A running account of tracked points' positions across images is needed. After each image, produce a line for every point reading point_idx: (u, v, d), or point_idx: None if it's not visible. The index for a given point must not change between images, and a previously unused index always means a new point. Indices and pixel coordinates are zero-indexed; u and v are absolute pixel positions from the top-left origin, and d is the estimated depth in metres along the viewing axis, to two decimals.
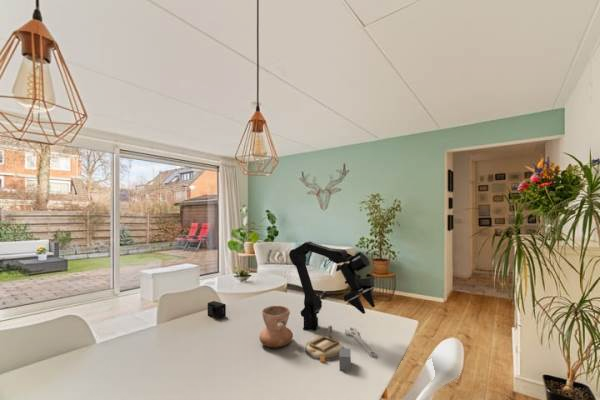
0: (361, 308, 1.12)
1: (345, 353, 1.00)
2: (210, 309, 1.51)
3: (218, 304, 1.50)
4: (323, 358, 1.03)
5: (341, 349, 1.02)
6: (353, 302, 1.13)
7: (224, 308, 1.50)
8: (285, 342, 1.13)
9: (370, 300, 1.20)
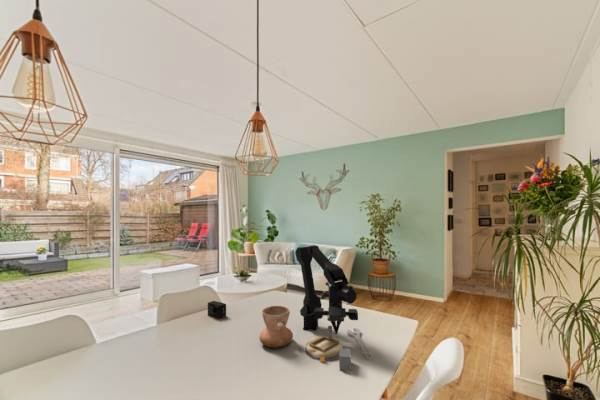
0: (334, 328, 1.18)
1: (345, 353, 1.00)
2: (210, 309, 1.52)
3: (218, 304, 1.51)
4: (323, 358, 1.03)
5: (341, 349, 1.02)
6: None
7: (224, 308, 1.50)
8: (285, 342, 1.13)
9: None
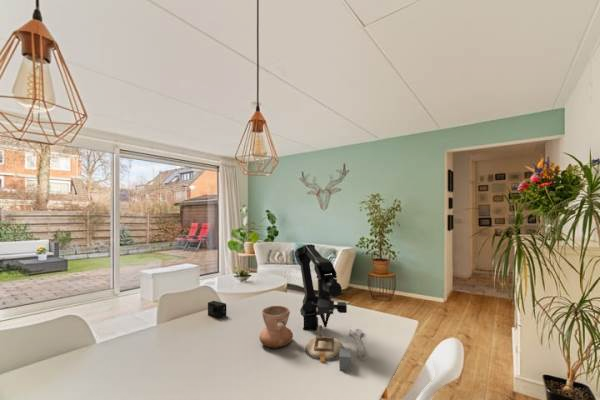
0: (322, 321, 1.18)
1: (345, 353, 1.00)
2: (210, 309, 1.52)
3: (219, 304, 1.51)
4: (323, 358, 1.03)
5: (341, 349, 1.02)
6: None
7: (225, 307, 1.51)
8: (285, 342, 1.13)
9: None
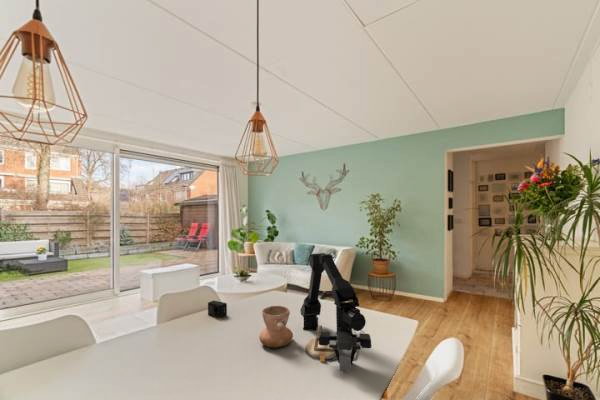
0: (336, 356, 1.01)
1: (345, 352, 1.00)
2: (211, 308, 1.52)
3: (219, 303, 1.51)
4: (323, 358, 1.03)
5: None
6: None
7: (225, 307, 1.51)
8: (285, 342, 1.13)
9: (351, 354, 1.00)
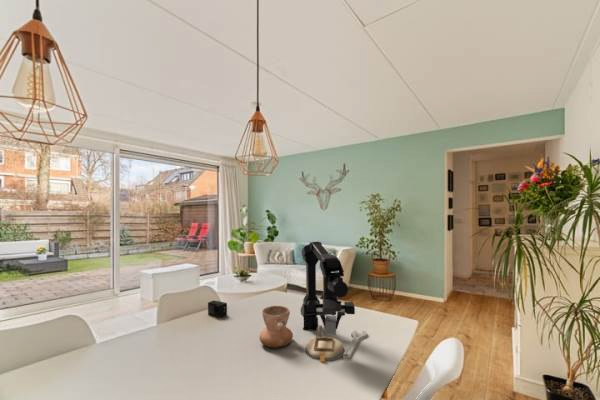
0: (323, 322, 1.09)
1: (331, 319, 1.08)
2: (211, 308, 1.52)
3: (219, 303, 1.52)
4: (323, 358, 1.03)
5: (328, 316, 1.10)
6: None
7: (225, 307, 1.52)
8: (285, 342, 1.13)
9: (336, 321, 1.08)
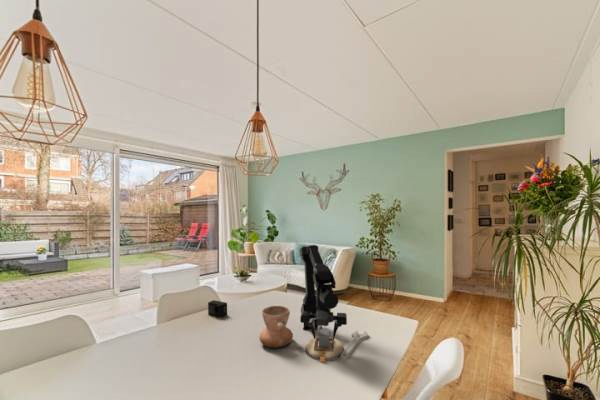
0: None
1: (324, 333, 1.12)
2: (211, 308, 1.53)
3: (219, 303, 1.52)
4: (323, 358, 1.03)
5: (321, 330, 1.14)
6: None
7: (226, 307, 1.52)
8: (285, 342, 1.13)
9: None
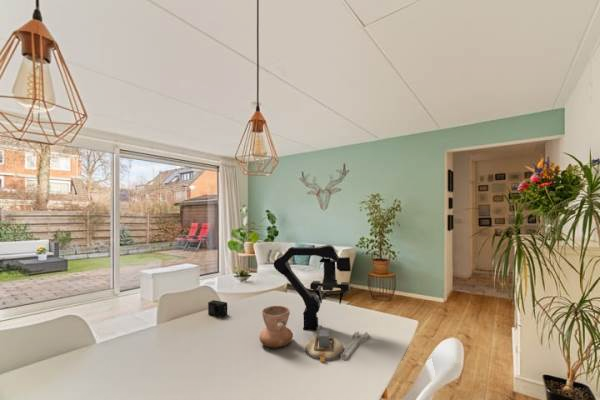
0: None
1: (324, 333, 1.12)
2: (211, 308, 1.53)
3: (220, 303, 1.52)
4: (323, 358, 1.03)
5: (321, 330, 1.14)
6: None
7: (226, 306, 1.52)
8: (285, 342, 1.13)
9: None
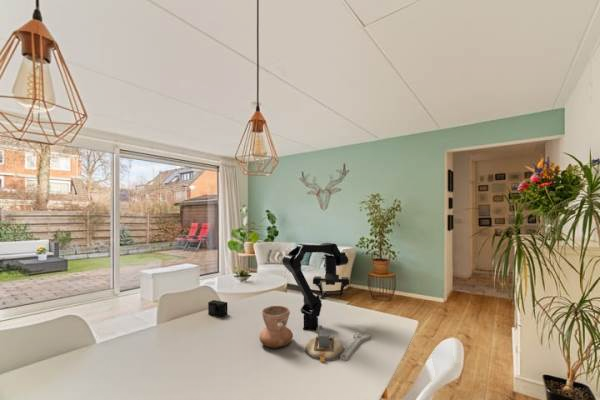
0: None
1: (324, 333, 1.12)
2: (211, 308, 1.53)
3: (220, 303, 1.52)
4: (323, 358, 1.03)
5: (321, 330, 1.14)
6: None
7: (226, 306, 1.53)
8: (285, 342, 1.13)
9: (340, 291, 1.42)
